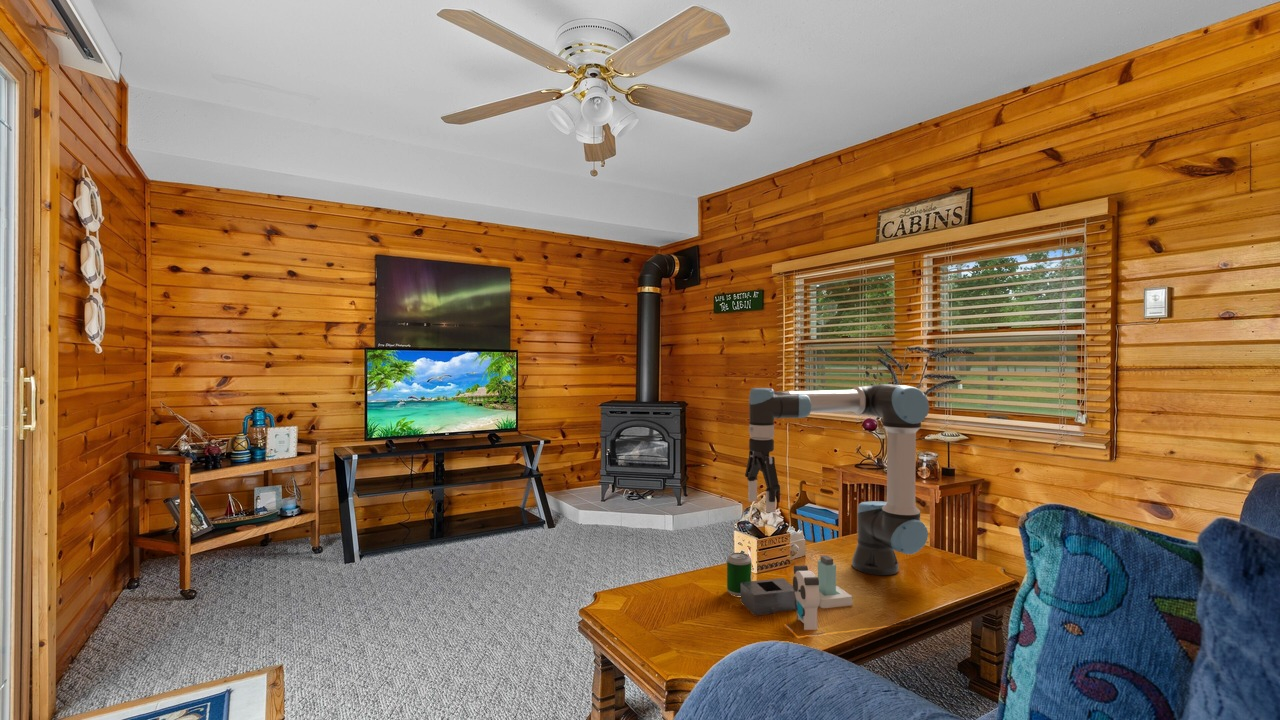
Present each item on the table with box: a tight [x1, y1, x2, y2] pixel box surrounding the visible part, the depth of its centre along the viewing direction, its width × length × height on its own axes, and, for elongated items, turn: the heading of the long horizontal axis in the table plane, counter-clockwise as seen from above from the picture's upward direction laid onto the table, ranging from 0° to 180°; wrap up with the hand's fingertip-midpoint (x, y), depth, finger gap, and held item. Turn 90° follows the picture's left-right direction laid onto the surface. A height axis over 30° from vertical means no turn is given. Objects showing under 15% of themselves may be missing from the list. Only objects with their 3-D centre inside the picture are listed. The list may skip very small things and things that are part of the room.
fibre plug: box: [817, 554, 837, 596], centre depth 186 cm, size 3×5×13 cm, turn 13°
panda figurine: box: [785, 565, 825, 636], centre depth 169 cm, size 12×11×15 cm
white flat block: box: [818, 585, 854, 609], centre depth 186 cm, size 10×12×3 cm
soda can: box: [726, 552, 752, 596], centre depth 191 cm, size 8×8×12 cm
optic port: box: [740, 577, 797, 616], centre depth 182 cm, size 14×10×6 cm
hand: (761, 506), depth 189 cm, fingers open, 13 cm apart
